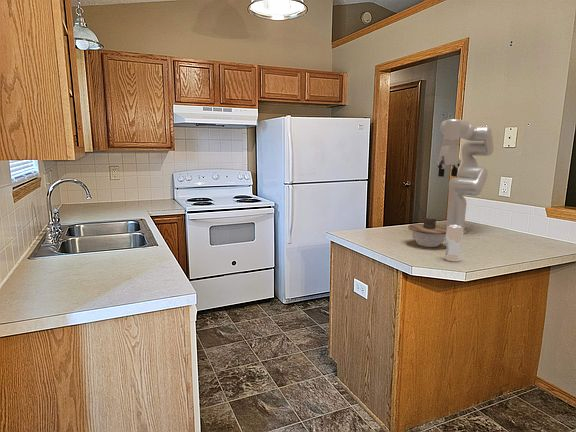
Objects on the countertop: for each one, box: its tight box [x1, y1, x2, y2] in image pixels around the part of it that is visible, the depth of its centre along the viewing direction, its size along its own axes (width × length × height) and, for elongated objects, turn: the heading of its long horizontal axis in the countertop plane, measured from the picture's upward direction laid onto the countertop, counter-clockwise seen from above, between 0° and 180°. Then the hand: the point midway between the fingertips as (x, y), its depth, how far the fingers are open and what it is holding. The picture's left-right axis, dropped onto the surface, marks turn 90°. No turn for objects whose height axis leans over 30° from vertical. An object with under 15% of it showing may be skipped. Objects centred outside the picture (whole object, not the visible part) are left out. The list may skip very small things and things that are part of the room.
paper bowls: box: [411, 231, 446, 248], centre depth 192 cm, size 15×15×8 cm
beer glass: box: [444, 225, 464, 263], centre depth 167 cm, size 7×7×15 cm
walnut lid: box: [407, 216, 447, 235], centre depth 191 cm, size 20×20×6 cm
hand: (447, 176), depth 204 cm, fingers open, 9 cm apart
